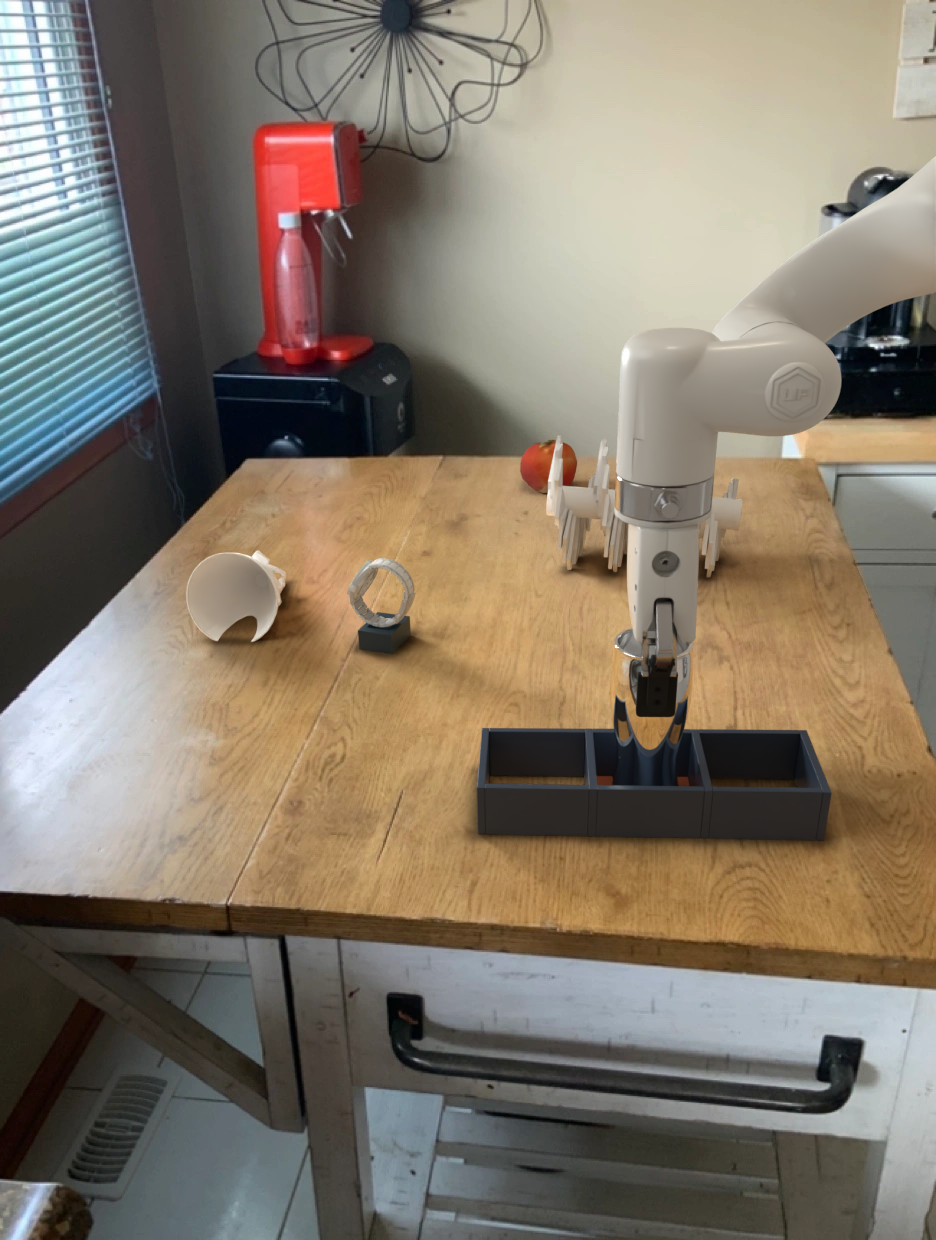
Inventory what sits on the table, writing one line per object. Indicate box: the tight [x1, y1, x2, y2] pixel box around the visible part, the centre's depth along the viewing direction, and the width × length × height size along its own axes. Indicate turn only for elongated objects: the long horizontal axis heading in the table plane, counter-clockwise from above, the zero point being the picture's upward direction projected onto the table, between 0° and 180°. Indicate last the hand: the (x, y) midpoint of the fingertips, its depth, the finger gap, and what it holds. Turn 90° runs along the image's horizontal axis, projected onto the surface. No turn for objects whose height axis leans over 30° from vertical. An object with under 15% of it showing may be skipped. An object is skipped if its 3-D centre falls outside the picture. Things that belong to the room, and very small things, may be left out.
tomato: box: [519, 439, 578, 494], centre depth 182 cm, size 9×9×8 cm
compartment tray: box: [476, 727, 833, 841], centre depth 102 cm, size 30×10×6 cm, turn 84°
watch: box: [346, 557, 416, 655], centre depth 134 cm, size 6×8×11 cm
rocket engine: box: [185, 549, 287, 643], centre depth 146 cm, size 12×12×18 cm
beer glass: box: [609, 627, 694, 786], centre depth 99 cm, size 7×7×15 cm
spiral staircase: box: [545, 435, 743, 578], centre depth 149 cm, size 18×18×25 cm
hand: (651, 691), depth 98 cm, fingers closed on beer glass, 7 cm apart
